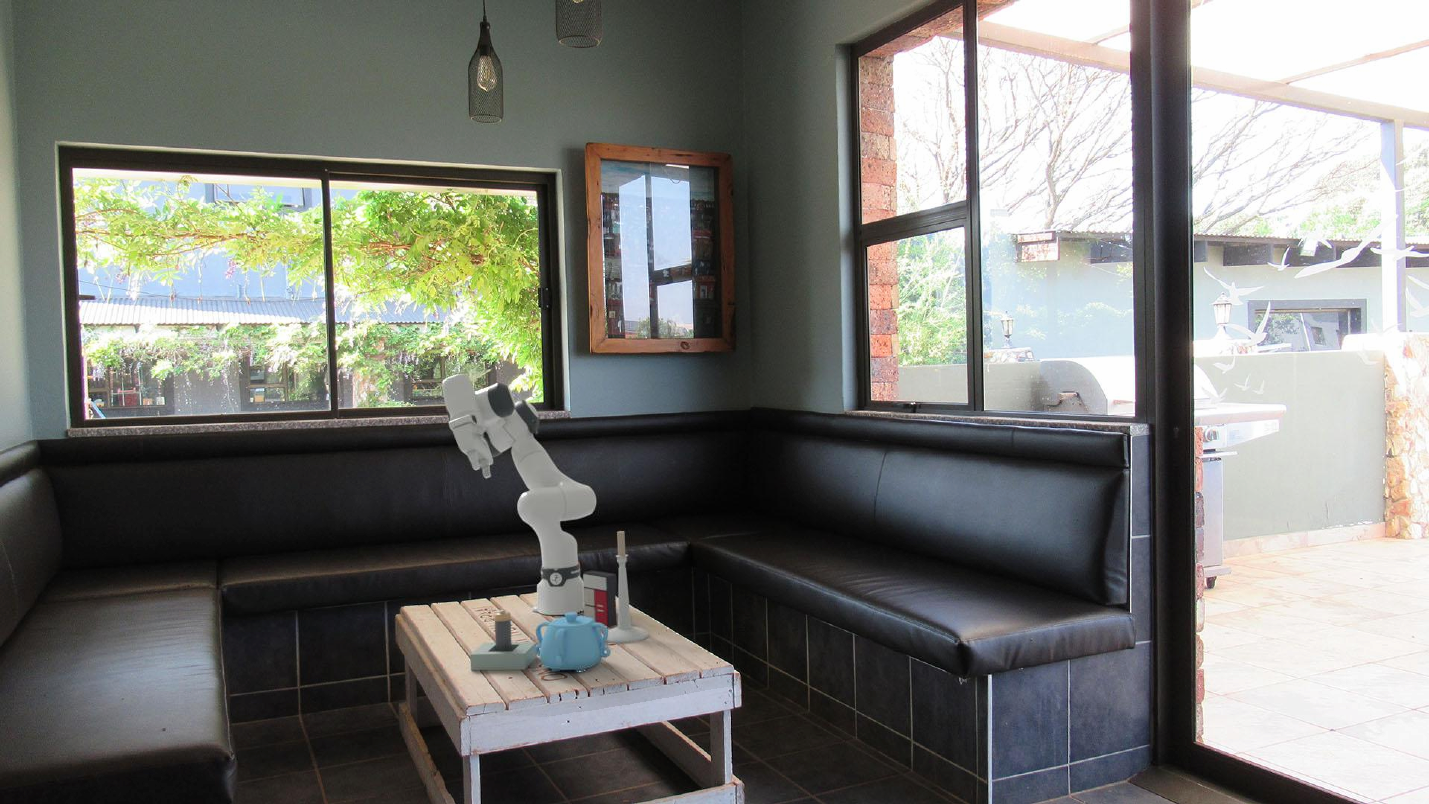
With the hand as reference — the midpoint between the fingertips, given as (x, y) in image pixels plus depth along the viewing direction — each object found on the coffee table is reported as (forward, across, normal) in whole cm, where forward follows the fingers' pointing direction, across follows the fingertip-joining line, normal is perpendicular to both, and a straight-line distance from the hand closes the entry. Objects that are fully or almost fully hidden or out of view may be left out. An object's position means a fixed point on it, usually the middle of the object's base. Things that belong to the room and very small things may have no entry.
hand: (482, 473), depth 272 cm
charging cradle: (+50, 0, -8) cm, 51 cm away
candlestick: (+52, -22, +20) cm, 60 cm away
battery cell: (+50, 0, -8) cm, 50 cm away
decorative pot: (+58, +3, +9) cm, 59 cm away
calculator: (+44, -37, +13) cm, 59 cm away
